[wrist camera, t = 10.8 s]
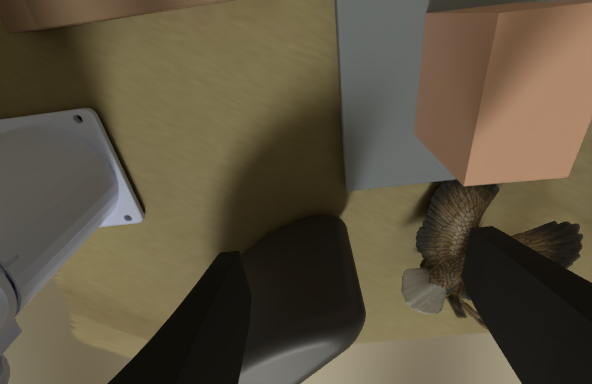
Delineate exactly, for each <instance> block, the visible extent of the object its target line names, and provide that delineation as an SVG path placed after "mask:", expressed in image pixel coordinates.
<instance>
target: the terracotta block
mask: <svg viewBox="0 0 592 384" xmlns="http://www.w3.org/2000/svg"><path fill="white" fill-rule="evenodd" d="M591 119H592V0H561V1H540V2H519V3H507V4H499V5H490V6H482V7H474V8H465V9H457V10H448V11H440V12H431V13H426V16H425V27H424V37H423V47H422V57H421V67H420V77H419V88H418V98H417V108H416V118H415V128H414V135H415V136H416V137H417V138H418V139H419V140H420V141H421V142H422V144H423V145H424V146H425V147H426V148H427V149H428V150H429V151H430V152H431V153H432V154H433V155H434V156H435V157H436V158H437V159H438V160H439V161H440V162H441V163H442V164H443V165H444V166H445V167H446V169H447V170H448V171H449V172H450V173H451V174H452V175H453V176H454V177H455V178H456V179H457V180H458V181H459V182H460V183H461V184H462V185H463V186H473V185H485V184H497V183H508V182H520V181H531V180H543V179H554V178H566V177H568V176H569V173H570V171H571V168H572V166H573V164H574V161H575V159H576V156H577V154H578V151H579V149H580V146H581V144H582V141H583V139H584V136H585V134H586V131H587V129H588V126H589V124H590V121H591Z"/></svg>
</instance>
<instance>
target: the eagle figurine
mask: <svg viewBox="0 0 592 384" xmlns="http://www.w3.org/2000/svg"><path fill="white" fill-rule="evenodd" d="M498 191H499V188H498V187H497V186H496V184H485V185H473V186H463V185H462V184H461V183H460V182H459V181H458V180H457V179H454V180H445V181H444V182H443V183H442V184H441V185H440V187H439V188H438V189H436V191H435V194H434V195H433V196H432V198H431V204H430V205H429V208H428V209H427V214H428V215H427V216H426V217H425V220H424V221H423V227H420V228H419V231H417V236H416V241H417V242H416V247H417V250H418V252H420V253H421V254H422V257H423V258H424V259H426V264H424V265H420V268H415V269H407V270H405V272H404V274H403V277H402V289H401V290H402V294H403V296H404V298H405V302H406V303H407V304H408V305H409V306H410V307H411V308H412V309H414V310H417V311H419V312H422V313H427V314H436V313H439V312H440V311H441V310H442V307H443V303H444V300H445V298H446V299H447V300H448V302H449V303H450V305H451V307H452V309H453V311H454V312H455V314H456V316H457V317H459V318H466V317H467V316H466V314H465V313H464V312H466V313H467V314H469V315H470V316H472V317H473V318H474V319H475V320H476V321H477V322H478V323H479V324H480V325H481V326H483V327H484V328H486V329H488V328H487V326H486V325H485V323H484V321H483V320H482V318H481V317H480V315H479V313H478V312H476V311H475V310H474V309H473V308H472V307H470V306H469V305H468V304H467V303H465V302H464V301H463V300H462V298H463V299H466V298H467V300H471V298H470V296H469V293H468V291H467V289H466V287H465V284H464V282H463V280H462V277H461V275H462V270H463V265H464V260H465V256H466V251H467V246H468V241H469V236H470V231H471V228H476V227H477V225H478V223H479V222H480V220H481V218H482V216H483V213H484V212H485V210H486V208H487V207H488V206H489V204H490V203H491V201H492V200H493V199H494V198H495V196H496V195H497V193H498ZM579 229H580V226H579V224H570V223H569V222H562V223H560V224H557V222H556V221H553V222H550V223H547V224H544V225H542V226H540V227H537V228H534V229H532V230H529V231H526V232H524V233H519V234H515V235H513V236H511V237H513V238H514V239H516V240H518V241H519V242H521V243H523V244H525V245H526V246H528V247H530V248H531V249H533V250H535V251H536V252H538V253H540V254H542V255H543V256H545V257H547V258H548V259H550V260H552V261H554V262H555V263H557V264H559V265H561V266H562V267H564V268H566V269H567V268H568V267H570V266H571V265H572V264H573V262H574V261H576V260H577V259H578V258H579V257H580V254H579V251H580V250H581V249H582V244H581V240H582V239H583V235H582V234H578V232H579ZM427 264H428V265H429V266H428V265H427ZM461 297H462V298H461ZM471 301H472V300H471Z"/></svg>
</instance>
